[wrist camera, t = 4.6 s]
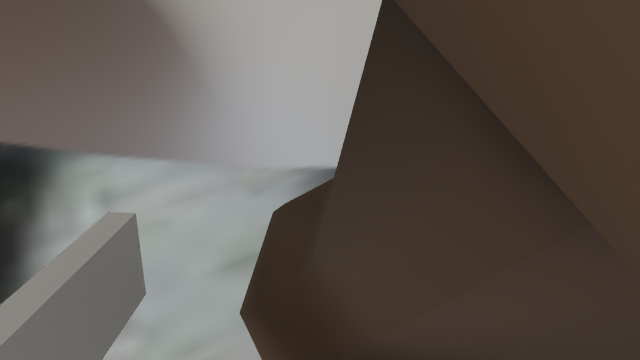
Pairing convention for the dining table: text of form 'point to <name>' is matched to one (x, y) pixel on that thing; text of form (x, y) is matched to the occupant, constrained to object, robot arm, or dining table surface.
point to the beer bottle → (471, 195)
